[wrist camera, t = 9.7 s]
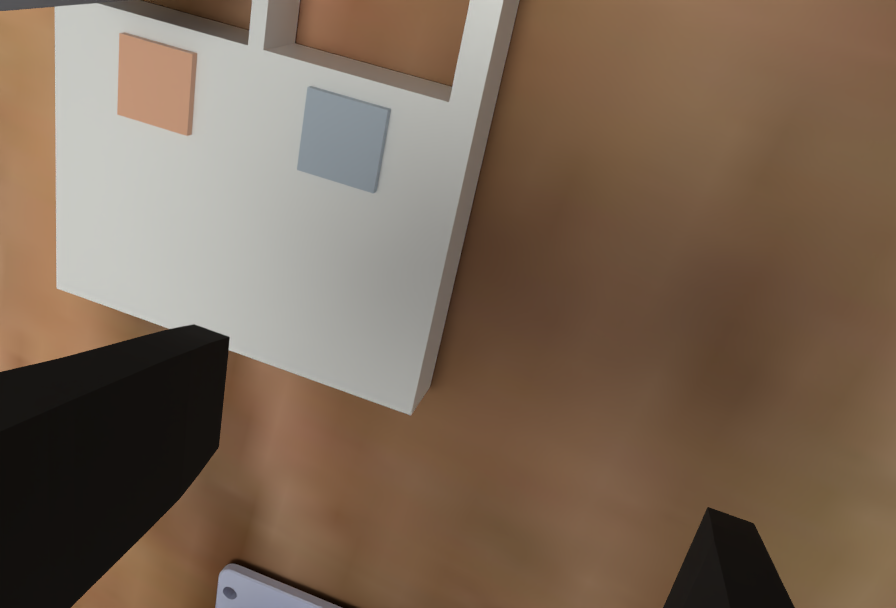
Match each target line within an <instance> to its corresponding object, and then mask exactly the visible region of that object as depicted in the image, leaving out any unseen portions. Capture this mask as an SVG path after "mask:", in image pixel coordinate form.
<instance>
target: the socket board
mask: <svg viewBox="0 0 896 608" xmlns="http://www.w3.org/2000/svg"><path fill="white" fill-rule="evenodd" d="M519 1H520V0H470V3H469V8H468V13H467V18H466V23H465V27H464V32H463V37H462V42H461V47H460V52H459V57H458V61H457V66H456V71H455V76H454V81H453V86H452V87H451V86H447V85H444V84H440V83H436V82H433V81H429V80H426V79H422V78H418V77H415V76H411V75H408V74H404V73H400V72H397V71H393V70H390V69H386V68H382V67H379V66H375V65H372V64H368V63H364V62H361V61H357V60H354V59H350V58H346V57H343V56H339V55H336V54H332V53H328V52H325V51H321V50H318V49H314V48H310V47H307V46H303V45H300V44H296V43H295V39H296V31H297V23H298V14H299V6H300V0H252V8H251V19H250V29H249V30H246V29H242V28H238V27H235V26H231V25H228V24H224V23H220V22H217V21H213V20H210V19H206V18H202V17H199V16H195V15H192V14H188V13H184V12H181V11H177V10H174V9H170V8H166V7H163V6H159V5H156V4H152V3H148V2H145V1H141V0H128V1H116V2H104V3H92V4H80V5H68V6H56V7H55V116H56V268H57V289H60V290H63V291H66V292H68V293H71V294H74V295H77V296H80V297H82V298H85V299H88V300H91V301H94V302H96V303H99V304H102V305H105V306H107V307H110V308H113V309H116V310H119V311H121V312H124V313H127V314H130V315H133V316H135V317H138V318H141V319H144V320H146V321H149V322H152V323H155V324H158V325H160V326H163V327H166V328H169V329H173V328H177V327H182V326H188V325H193V324H195V325H198V326H200V327H203V328H206V329H209V330H212V331H214V332H217V333H220V334H223V335H226V336H228V337H230V340H229V350H230V351H233V352H236V353H238V354H241V355H244V356H247V357H249V358H252V359H255V360H258V361H261V362H263V363H266V364H269V365H272V366H274V367H277V368H280V369H283V370H286V371H288V372H291V373H294V374H297V375H300V376H302V377H305V378H308V379H311V380H313V381H316V382H319V383H322V384H325V385H327V386H330V387H333V388H336V389H339V390H341V391H344V392H347V393H350V394H352V395H355V396H358V397H361V398H364V399H366V400H369V401H372V402H375V403H378V404H380V405H383V406H386V407H389V408H391V409H394V410H397V411H400V412H403V413H405V414H408V415H411V414H412V413H413V412H414V410H415V409H416V407H417V406H418V404H419V403H420V401H421V400H422V398H423V397H424V395H425V394H426V393H427V391H428V390H429V388H430V385H431V381H432V377H433V372H434V368H435V364H436V359H437V355H438V351H439V346H440V342H441V338H442V333H443V329H444V325H445V320H446V316H447V312H448V307H449V303H450V299H451V294H452V290H453V286H454V282H455V277H456V273H457V269H458V264H459V260H460V256H461V251H462V247H463V243H464V238H465V234H466V230H467V225H468V221H469V217H470V212H471V208H472V204H473V199H474V195H475V191H476V186H477V182H478V178H479V174H480V169H481V165H482V161H483V156H484V152H485V148H486V143H487V139H488V135H489V130H490V126H491V122H492V117H493V113H494V109H495V104H496V100H497V96H498V91H499V87H500V83H501V78H502V74H503V70H504V65H505V61H506V57H507V53H508V48H509V44H510V40H511V35H512V31H513V27H514V22H515V18H516V14H517V9H518V5H519Z"/></svg>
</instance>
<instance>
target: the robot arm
mask: <svg viewBox="0 0 896 608" xmlns="http://www.w3.org/2000/svg"><path fill="white" fill-rule="evenodd" d="M229 340H230V337H228V336H226V335H223V334H220V333H217V332H214V331H212V330H209V329H206V328H203V327H200V326H198V325H195V324H193V325H188V326H182V327H177V328H173V329H169V330H164V331H160V332H156V333H153V334H149V335H145V336H141V337H138V338H134V339H130V340H127V341H123V342H119V343H116V344H112V345H108V346H104V347H101V348H97V349H93V350H89V351H86V352H82V353H78V354H74V355H71V356H67V357H63V358H59V359H55V360H51V361H46V362H42V363H38V364H33V365H29V366H25V367H20V368H16V369H12V370H7V371H3V372H0V608H71V607H72V606H73V605H74V604H75V603H76V602H77V601H78V600H79V599H80V598H81V597H82V596H83V595H84V594H85V593H86V592H87V591H88V590H89V589H90V588H91V587H92V586H93V585H94V584H95V583H96V582H97V581H98V580H99V579H100V578H101V577H102V576H103V575H104V574H105V573H106V572H107V571H108V570H109V569H110V568H111V567H112V566H113V565H114V564H115V563H116V562H117V561H118V560H119V559H120V558H121V557H122V556H123V555H124V554H125V553H126V552H127V551H128V550H129V549H130V548H131V547H132V546H133V545H134V544H135V543H136V542H137V541H138V540H139V539H140V538H141V537H142V536H143V535H144V534H145V533H146V532H147V531H148V530H149V529H150V528H151V527H152V526H153V525H154V524H155V523H156V522H157V521H158V520H159V519H160V518H161V517H162V516H163V515H164V514H165V513H166V512H167V511H168V510H169V509H170V508H171V507H172V506H173V505H174V504H175V503H176V502H177V501H178V500H179V499H180V498H181V496H182V495H183V494H184V493H185V491H186V490H187V489H188V487H189V486H190V485H191V484H192V482H193V481H194V480H195V479H196V477H197V476H198V475H199V473H200V472H201V471H202V469H203V468H204V467H205V465H206V464H207V462H208V461H209V460H210V458H211V457H212V456H213V454H214V453H215V452H216V450H217V449H218V447H219V439H220V430H221V420H222V410H223V400H224V390H225V380H226V370H227V360H228V350H229ZM233 589H234V590H235V591H234V590H233ZM215 608H342V607H340V606H337V605H335V604H332V603H330V602H327V601H325V600H323V599H320V598H318V597H315V596H313V595H310V594H308V593H306V592H303V591H301V590H298V589H296V588H293V587H291V586H289V585H286V584H284V583H281V582H279V581H276V580H274V579H272V578H269V577H267V576H264V575H262V574H259V573H257V572H255V571H252V570H250V569H247V568H245V567H243V566H240V565H237V564H228V565H226V566H225V567H224V568H223V570H222V571H221V572H220V574H219V578H218V588H217V597H216V606H215ZM663 608H795V607H794V605H793V603H792V601H791V599H790V597H789V595H788V593H787V591H786V589H785V587H784V585H783V583H782V581H781V579H780V577H779V575H778V573H777V570H776V568H775V566H774V564H773V562H772V560H771V558H770V556H769V554H768V552H767V549H766V547H765V545H764V543H763V541H762V539H761V537H760V535H759V533H758V531H757V529H756V527H755V525H754V523H751V522H748V521H746V520H743V519H740V518H737V517H734V516H731V515H729V514H726V513H723V512H720V511H717V510H715V509H712V508H709V507H708V508H707V510H706V512H705V515H704V517H703V519H702V521H701V524H700V526H699V528H698V530H697V533H696V535H695V537H694V539H693V542H692V544H691V546H690V548H689V551H688V553H687V555H686V557H685V560H684V562H683V564H682V566H681V569H680V571H679V573H678V575H677V578H676V580H675V582H674V585H673V587H672V589H671V591H670V594H669V596H668V598H667V600H666V603H665V605H664V607H663Z"/></svg>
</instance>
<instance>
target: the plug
mask: <svg viewBox="0 0 896 608" xmlns="http://www.w3.org/2000/svg"><path fill="white" fill-rule="evenodd" d="M116 1H128V0H0V11H7V10H19V9H31V8H44V7H56V6H68V5H80V4H92V3H104V2H116Z"/></svg>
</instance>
